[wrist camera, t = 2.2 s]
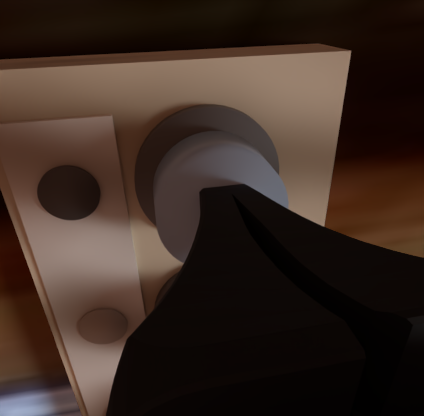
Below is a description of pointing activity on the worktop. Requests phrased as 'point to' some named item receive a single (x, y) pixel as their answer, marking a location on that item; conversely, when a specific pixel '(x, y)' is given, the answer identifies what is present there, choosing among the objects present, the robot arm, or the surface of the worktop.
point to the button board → (143, 172)
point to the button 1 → (205, 182)
